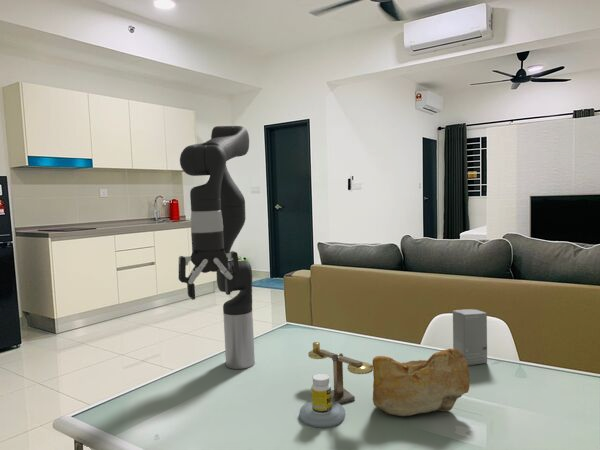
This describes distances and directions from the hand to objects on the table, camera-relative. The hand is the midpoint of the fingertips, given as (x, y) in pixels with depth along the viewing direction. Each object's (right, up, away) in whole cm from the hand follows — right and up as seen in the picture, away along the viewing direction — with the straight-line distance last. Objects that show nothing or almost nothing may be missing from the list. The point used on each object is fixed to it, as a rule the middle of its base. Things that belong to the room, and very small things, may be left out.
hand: (210, 296), depth 106 cm
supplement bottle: (+27, -28, 0) cm, 39 cm away
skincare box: (+75, -25, +31) cm, 85 cm away
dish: (+27, -29, +1) cm, 40 cm away
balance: (+32, -28, +9) cm, 44 cm away
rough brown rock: (+51, -28, +5) cm, 59 cm away
